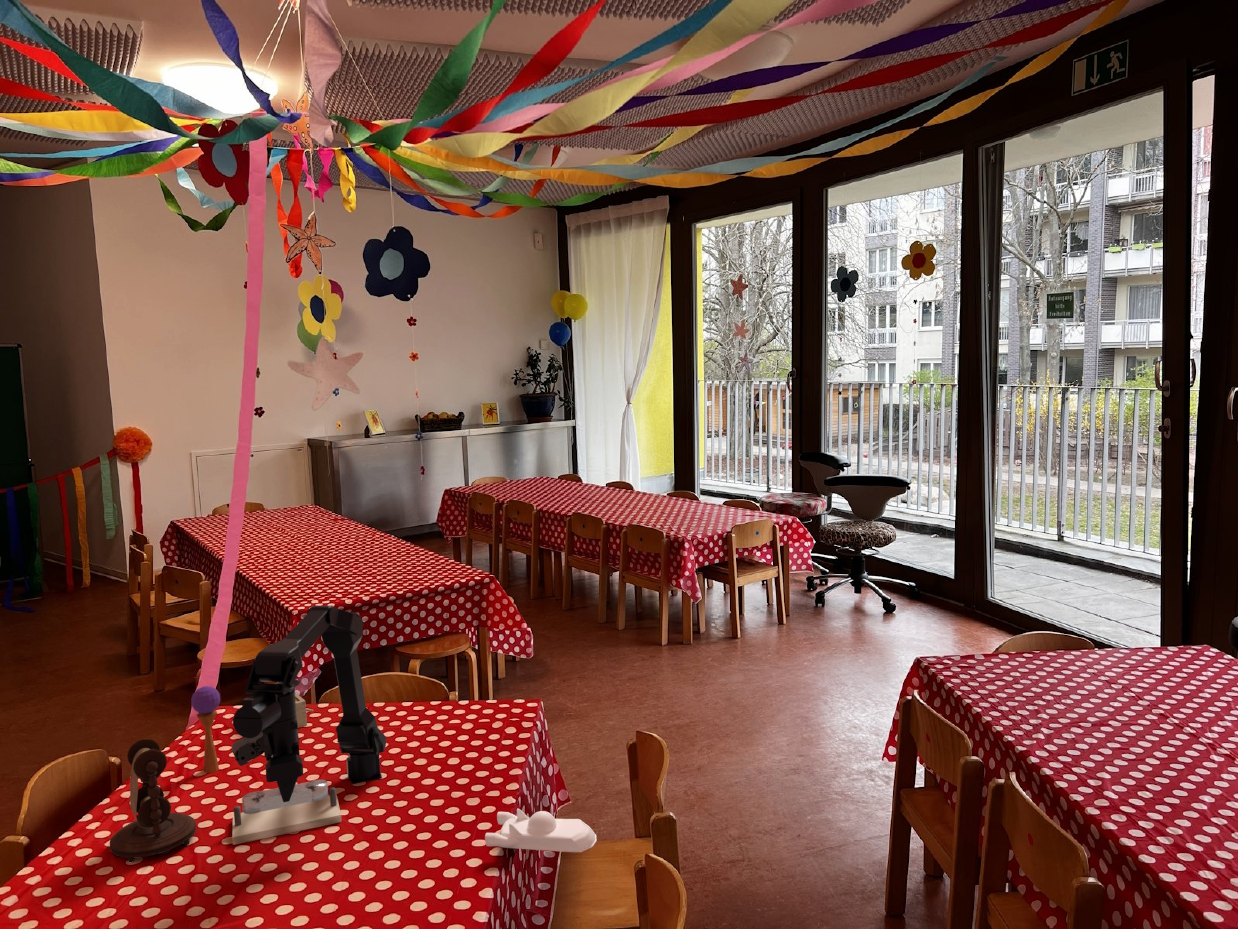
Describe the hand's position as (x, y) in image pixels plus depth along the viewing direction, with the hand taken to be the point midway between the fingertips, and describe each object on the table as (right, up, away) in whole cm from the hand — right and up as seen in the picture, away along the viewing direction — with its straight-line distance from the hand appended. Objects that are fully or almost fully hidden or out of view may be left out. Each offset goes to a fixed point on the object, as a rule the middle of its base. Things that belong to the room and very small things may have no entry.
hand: (285, 797), depth 167 cm
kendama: (-31, -8, +37) cm, 49 cm away
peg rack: (-4, -9, +12) cm, 16 cm away
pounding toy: (-26, -5, +67) cm, 72 cm away
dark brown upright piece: (-27, -11, +5) cm, 30 cm away
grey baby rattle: (0, -1, 0) cm, 1 cm away
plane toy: (+48, -9, +1) cm, 49 cm away
